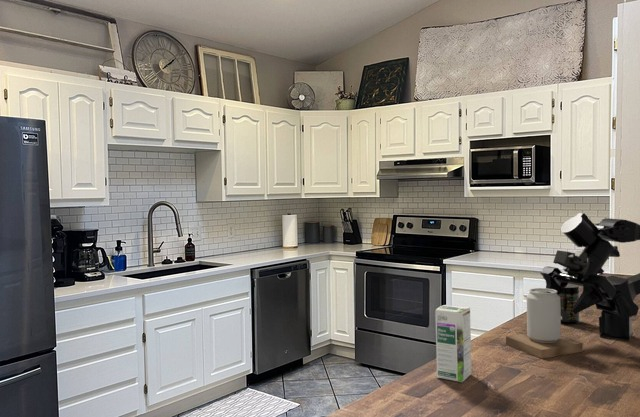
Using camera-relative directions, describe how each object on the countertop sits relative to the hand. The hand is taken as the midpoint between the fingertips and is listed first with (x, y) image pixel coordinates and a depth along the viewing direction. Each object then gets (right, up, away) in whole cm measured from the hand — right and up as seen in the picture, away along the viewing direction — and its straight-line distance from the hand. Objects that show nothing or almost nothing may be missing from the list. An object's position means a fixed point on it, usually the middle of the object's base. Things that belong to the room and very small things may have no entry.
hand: (558, 308), depth 128 cm
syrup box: (-30, -11, -17) cm, 36 cm away
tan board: (-4, -9, -1) cm, 10 cm away
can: (-4, -7, -1) cm, 8 cm away
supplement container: (+12, -8, +21) cm, 25 cm away
